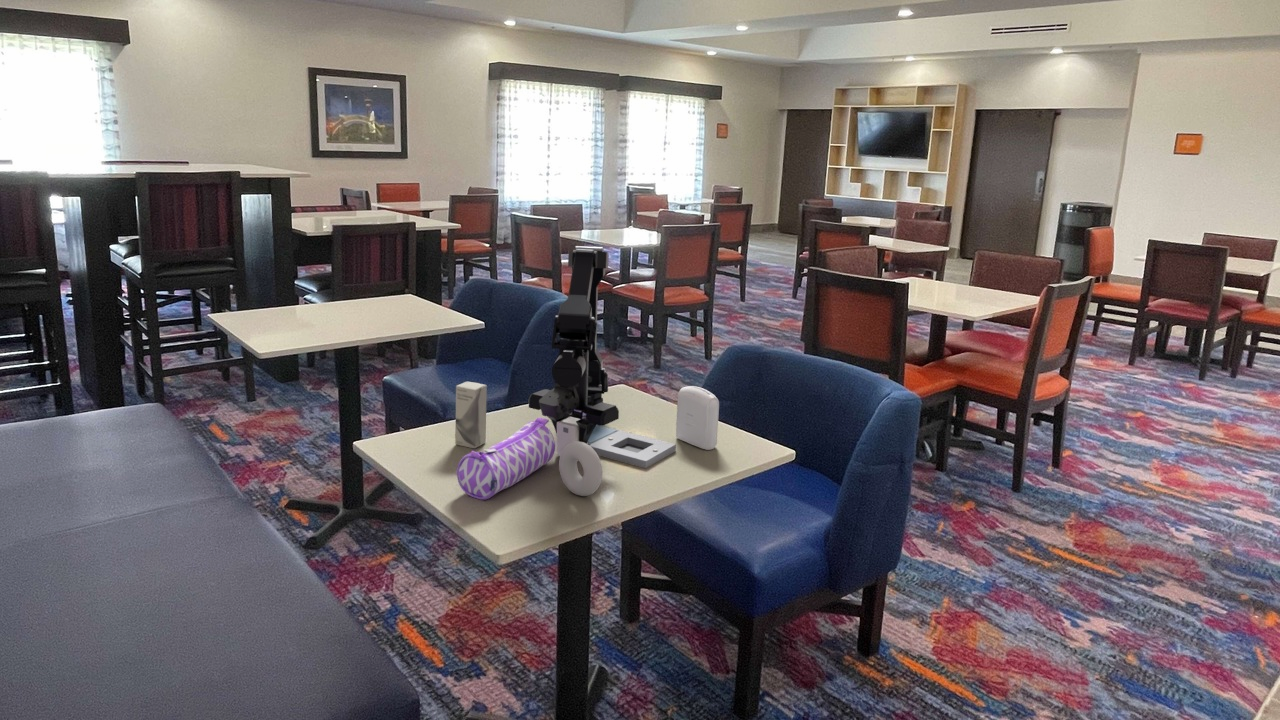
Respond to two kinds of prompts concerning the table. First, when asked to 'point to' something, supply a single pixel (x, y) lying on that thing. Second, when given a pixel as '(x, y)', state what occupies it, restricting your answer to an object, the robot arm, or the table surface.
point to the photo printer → (697, 417)
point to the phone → (600, 433)
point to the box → (470, 414)
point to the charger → (566, 433)
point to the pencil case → (506, 461)
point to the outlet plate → (633, 448)
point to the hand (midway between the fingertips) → (572, 446)
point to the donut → (590, 467)
